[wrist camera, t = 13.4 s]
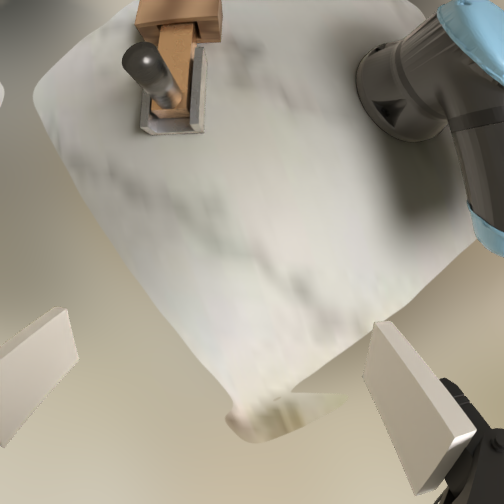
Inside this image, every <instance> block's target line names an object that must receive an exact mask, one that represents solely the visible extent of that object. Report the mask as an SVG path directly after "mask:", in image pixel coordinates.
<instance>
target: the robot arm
mask: <svg viewBox="0 0 504 504" xmlns="http://www.w3.org/2000/svg"><path fill="white" fill-rule="evenodd" d="M356 83H357V90H358V94H359V97H360V100H361V102H362V104H363V106H364V108H365V110H366V111H367V113H368V115H369V116H370V117H371V119H372V120H373V121H374V122H375V123H376V124H377V125H378V126H379V127H380V128H381V129H382V130H384V131H385V132H386V133H388V134H389V135H391V136H393V137H395V138H397V139H399V140H403V141H407V142H419V141H423V140H427V139H431V138H433V137H435V136H436V135H438V134H439V133H440V132H441V131H442V130H443V129H444V128H445V126H447V125H448V124H449V127H450V130H451V133H452V137H453V140H454V144H455V147H456V151H457V154H458V158H459V162H460V166H461V171H462V175H463V179H464V184H465V189H466V194H467V206H468V209H469V211H470V212H471V217H472V222H473V227H474V232H475V235H476V237H477V239H478V240H479V241H480V242H481V243H482V244H483V246H484V247H485V248H486V249H488V250H489V251H491V252H493V253H495V254H496V255H499V256H501V257H504V11H503V10H502V9H501V8H500V7H498V6H497V5H495V4H494V3H492V2H490V1H489V0H452V1H450V2H449V3H447V4H443V5H442V6H440V7H439V8H438V9H437V11H436V12H435V13H434V14H433V15H431V16H430V17H429V18H428V19H426V20H425V21H424V22H423V23H422V24H420V25H419V26H418V27H417V28H416V29H415V30H413V31H412V32H411V33H410V34H409V35H408V36H407V37H405V38H404V39H403V40H400V41H395V42H390V43H386V44H382V45H379V46H377V47H375V48H374V49H372V50H371V51H370V52H369V53H368V54H367V55H366V56H365V57H364V58H363V59H362V61H361V63H360V64H359V67H358V70H357V77H356ZM490 124H491V125H490ZM485 125H486V126H485ZM480 126H481V127H480ZM475 127H476V128H475ZM470 128H471V129H470ZM465 129H466V130H465ZM461 130H462V131H461ZM78 361H79V356H78V353H77V349H76V345H75V341H74V337H73V333H72V329H71V324H70V320H69V315H68V310H67V308H63V307H57V306H55V307H53V308H52V309H50V310H49V311H47V312H46V313H45V314H43V315H42V316H40V317H39V318H38V319H36V320H35V321H34V322H32V323H31V324H29V325H28V326H26V327H25V328H24V329H22V330H21V331H20V332H19V333H17V334H16V335H14V336H13V337H12V338H10V339H9V340H8V341H6V342H5V343H4V344H2V345H1V346H0V446H1V447H3V448H5V446H6V445H7V444H8V443H9V441H10V440H11V439H12V438H13V436H14V435H15V434H16V433H17V431H18V430H19V429H20V428H21V427H22V425H23V424H24V423H25V422H26V420H27V419H28V418H29V417H30V416H31V415H32V413H33V412H34V411H35V410H36V409H37V407H38V406H39V405H40V404H41V403H42V402H43V400H44V399H45V398H46V397H47V396H48V395H49V393H50V392H51V391H52V390H53V389H54V388H55V386H56V385H57V384H58V383H59V382H60V381H61V380H62V379H63V378H64V376H65V375H66V374H67V373H68V372H69V371H70V370H71V369H72V367H73V366H74V365H75V364H76V363H77V362H78ZM362 377H363V379H364V382H365V384H366V386H367V388H368V390H369V392H370V394H371V396H372V399H373V401H374V403H375V405H376V407H377V410H378V412H379V414H380V416H381V418H382V420H383V422H384V425H385V427H386V429H387V432H388V434H389V436H390V438H391V441H392V443H393V445H394V448H395V450H396V452H397V454H398V457H399V459H400V462H401V464H402V466H403V469H404V471H405V473H406V475H407V478H408V480H409V483H410V485H411V488H412V490H413V493H414V495H415V496H417V495H421V494H423V493H427V492H430V491H433V490H435V489H437V487H438V486H439V485H440V483H441V482H442V481H443V480H444V479H445V481H446V483H447V485H448V486H447V488H446V489H445V490H444V491H443V493H442V494H441V495H440V496H439V497H438V498H437V500H436V501H435V503H434V504H438V502H439V501H440V503H439V504H504V429H498V428H495V429H491V428H490V426H489V425H488V424H487V422H486V421H485V420H484V419H483V417H482V416H481V415H480V413H479V412H478V411H477V410H476V408H475V407H474V406H473V405H472V403H470V401H469V400H468V398H467V397H466V396H464V393H463V392H462V391H461V390H460V389H459V387H458V386H457V385H456V384H454V383H452V382H451V381H450V380H448V379H447V378H442V379H438V377H437V376H436V375H435V374H434V373H433V372H432V370H431V369H430V367H429V366H428V365H427V364H426V362H425V361H424V360H423V359H422V358H421V356H420V355H419V354H418V353H417V352H416V350H415V349H414V348H413V347H412V345H411V344H410V343H409V342H408V341H407V340H406V338H405V337H404V336H403V335H402V334H401V332H400V331H399V330H398V329H397V328H396V327H395V325H394V324H393V323H392V322H391V321H382V322H374V326H373V331H372V336H371V341H370V346H369V350H368V355H367V359H366V364H365V368H364V372H363V376H362Z"/></svg>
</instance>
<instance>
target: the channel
mask: <svg viewBox="0 0 504 504" xmlns="http://www.w3.org/2000/svg"><path fill="white" fill-rule="evenodd" d="M206 79H207V59H206V55H205V51H204V47H195V52H194V64H193V77H192V91H191V108H190V117H180V118H164V119H160V118H159V117H158V116H157V115H155V114H154V113H153V112H152V111H151V107H152V98H151V97H150V96H149V95H148V94H147V92H146V91H145V90H144V89H143V94H142V105H141V118H140V128H141V129H143V130H144V131H146V132H148V133H149V134H151V135H165V134H185V133H204V118H205V97H206Z"/></svg>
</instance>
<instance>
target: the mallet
mask: <svg viewBox="0 0 504 504" xmlns="http://www.w3.org/2000/svg"><path fill="white" fill-rule="evenodd" d="M197 37H198V23H197V21H192V22H180V23H170V24H162V25H161V30H160V37H159V43H158V49H157V48H156V46H155V45H154V44H152V43H150V42H139V43H137V44H134V45H133V46H131V47H130V48H129V49H128V50H127V51H126V52H125V54H124V56H123V58H122V66H123V68H124V69H125V70H126V71H127V72H128V73H129V75H130V76H131V77H132V78H133V79H134V80H135V81H136V82H137V83H138V84H139V85H140V86H141V87H142V88H143V89H144V90H145V91H146V92H147V94H148V95H149V96H150V97H151V98H152V107H151V111H152V112H153V113H154V114H155V115H157V116H158V117H159V118H160V119H164V118H180V117H190V108H191V91H192V77H193V64H194V52H195V47H197Z"/></svg>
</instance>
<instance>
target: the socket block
mask: <svg viewBox="0 0 504 504" xmlns="http://www.w3.org/2000/svg"><path fill="white" fill-rule="evenodd" d="M222 18H223V13H222V2H221V0H140V2H139V6H138V11H137V15H136V20H135V26H136V28H137V29H138V31H139V32H140V34H141V35H142V37H143V39H144V40H145V42H150V43H152V44H154V45H155V46H156V47H158V43H159V37H160V30H161V25H162V24H170V23H180V22H192V21H197V23H198V37H197V43H209V42H221V33H222Z"/></svg>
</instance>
